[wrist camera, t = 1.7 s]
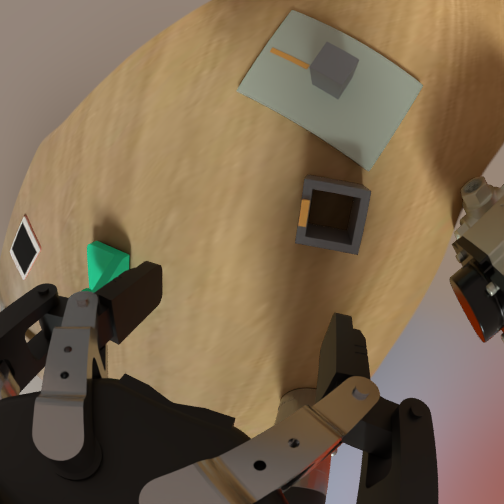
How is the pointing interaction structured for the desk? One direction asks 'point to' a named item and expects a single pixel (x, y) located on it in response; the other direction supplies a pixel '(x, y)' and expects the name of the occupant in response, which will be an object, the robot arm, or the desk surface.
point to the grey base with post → (332, 87)
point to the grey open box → (328, 235)
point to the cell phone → (25, 248)
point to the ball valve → (481, 258)
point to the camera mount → (104, 264)
